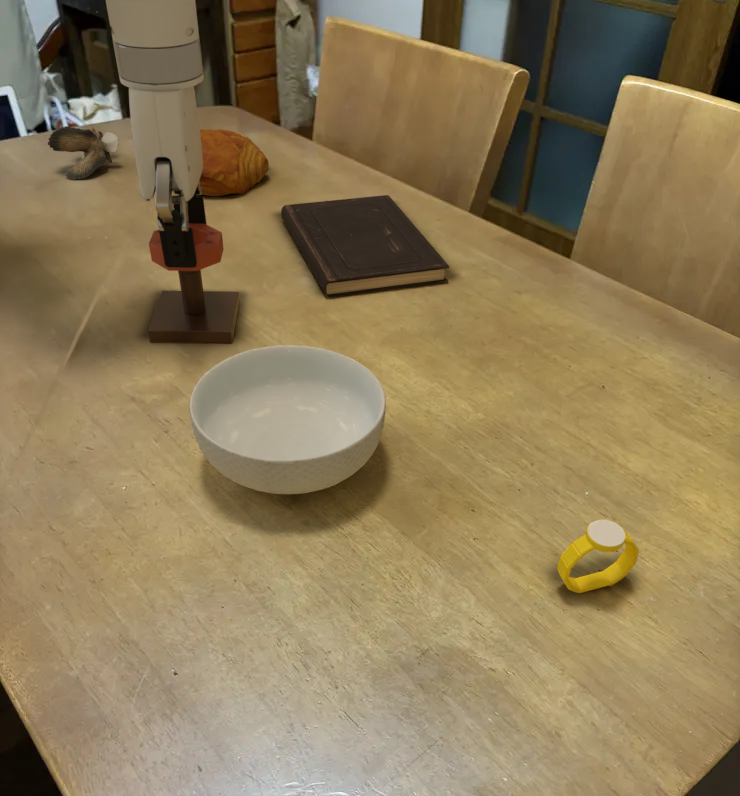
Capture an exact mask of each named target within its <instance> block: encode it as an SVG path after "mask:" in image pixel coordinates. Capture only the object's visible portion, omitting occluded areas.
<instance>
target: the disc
mask: <svg viewBox="0 0 740 796" xmlns="http://www.w3.org/2000/svg"><path fill="white" fill-rule="evenodd" d="M206 224H207V223H206ZM206 224H199V223H189V228H192V229H193V237H194V244H195V251H196V258H197V264H196V267H194V268H179V267H167V266H166V265H165V263H164V257H163V251H162V245H161V239H160V234H159V229H156V230H153V232H152V235H151V237H150V239H149V241H148V248H149V252H150V258H151V262H152V263H155V264H156V265H158V266H159V267H162V268H163V269H165V270H167V271H168V272H169V271H171V272H174V271H175V272H176V271H177V272H178V271H199V270H201V271H202V270H204V269H206V268H209V267H211V266H213V265H216V264H218V263H221V261H222V257H223V253H224V249H225V248H224V241H223V233H222V231H221V230H218V229H216V228H215V227H212V226H210V225H208V224H207V225H206Z"/></svg>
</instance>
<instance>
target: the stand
mask: <svg viewBox="0 0 740 796" xmlns="http://www.w3.org/2000/svg"><path fill="white" fill-rule="evenodd" d="M177 273H178V279H179V287H180V290H161V292H160V295H159V298H158V299H157V300H158V301H157V303H156V306H155V308H154V311H153V315H152V317H151V320H150V323H149V326H148V329H147V334H148V340H149V343H178V344H179V343H182V344H184V343H185V344H188V343H190V344H198V343H199V344H232V343H233V340H234V334H235V329H236V326H237V325H236V324H237V320H238V314H239V310H240V305H241V300H240V291H222V290H221V291H219V290H218V291H217V290H216V291H215V290H212V291H211V290H204V285H203V278H202V269H201V270H199V271H177Z"/></svg>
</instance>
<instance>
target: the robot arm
mask: <svg viewBox="0 0 740 796" xmlns="http://www.w3.org/2000/svg"><path fill="white" fill-rule="evenodd" d="M105 5H106V11H107V16H108V21H109V27H110V32H111V37H112V38H111V39H112V44H113V49H114V56H115V61H116V67H117V73H118V77H119V82H120V84H121V85H123V86H124V87H127V88H128V104H129V118H130V128H131V133H132V145H133V150H134V158H135V165H136V173H137V180H138V186H139V194H140V197H141V198H142V200H143V201H145V202H150V201H151V200H153V199H155V211H156V215H157V216H156V218H157V226H158V227H157V228H158V230H159V234H160V239H161V245H162V251H163V257H164V263H165V265H166V266H167V267H179V268H194V267H196V264H197V258H196V251H195V244H194V237H193V229H192V228H189V223H199V224H206V225H208V223H207V216H206V209H205V201H204V195H201V183H200V177H201V174H202V169H203V155H202V144H201V134H200V129H201V127H200V119H199V118H200V117H199V112H198V111H199V110H198V105H197V97H196V90H195V87H196V86H198V85H199V84H202V82H204V80H205V77H204V67H203V58H202V50H201V49H202V48H201V41H200V33H199V24H198V15H197V3H196V0H105ZM173 193H174V195H173ZM154 196H155V198H154Z"/></svg>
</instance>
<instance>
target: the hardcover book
mask: <svg viewBox="0 0 740 796" xmlns="http://www.w3.org/2000/svg"><path fill="white" fill-rule="evenodd" d="M280 215H281V219H282V221H283V223H284V225H285V226H286V228H287V230H288V231H289V233H290V235H291V237H292V238H293V240H294V242H295V244H296V245H297V247H298V249H299V251H300V253H301V255H302V256H303V258H304V260H305V261H306V263H307V265H308V267H309V269H310V270H311V272H312V274H313V275H314V277H315V279H316V281H317V282H318V285H319V287H320V288H321V290H322V291H323V294H324V295H325V296H326V297H327V298H329V299H332V298H340V297H347V296H355V295H362V294H371V293H377V292H385V291H392V290H401V289H409V288H416V287H417V288H418V287H423V286H432V285H438V284H439V285H440V284H447V283H448V282H449V279H448V278H447V277H446V269H450V265H449V264H448V263H447V261H446V260H445V259H444V257H442V256H441V254H439V252H438V251H437V250H436V249H435V247H434V246H433V245H432V244H431V243H430V242H429V241H428V239H427V238H426V237H425V236H424V235H423V234H422V232H421V231H420V230H419V229H418V227H416V226H415V224H414V223H413V222H412V220H410V218H409V217H408V215H406V213H405V212H404V211H403V210H402V209H401V208H400V206H399V205H398V204H397V203H396V202H395V201H394V200H393V198H392V197H391V196H390V195H389V194H385V195H384V194H383V195H374V196H363V197H354V198H352V197H351V198H344V199H343V198H342V199H334V200H333V199H332V200H323V201H314V202H303V203H302V202H301V203H292V204H285V205H283V206H282V208H281V210H280Z"/></svg>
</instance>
